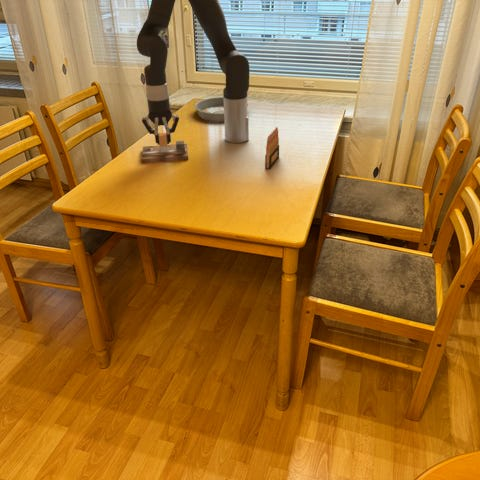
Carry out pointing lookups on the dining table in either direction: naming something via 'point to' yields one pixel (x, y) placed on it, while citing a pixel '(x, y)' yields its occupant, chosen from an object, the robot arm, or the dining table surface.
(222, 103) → the cake pan
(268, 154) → the ammunition clip
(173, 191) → the dining table surface
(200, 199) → the dining table surface
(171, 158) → the brown slider base
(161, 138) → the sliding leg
